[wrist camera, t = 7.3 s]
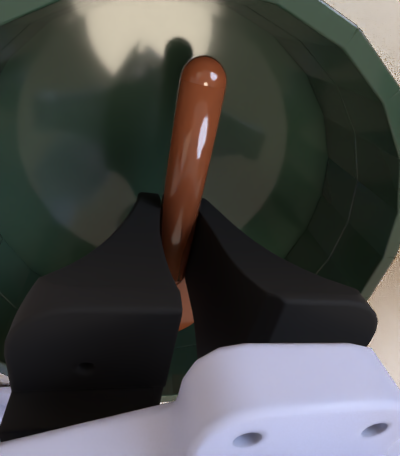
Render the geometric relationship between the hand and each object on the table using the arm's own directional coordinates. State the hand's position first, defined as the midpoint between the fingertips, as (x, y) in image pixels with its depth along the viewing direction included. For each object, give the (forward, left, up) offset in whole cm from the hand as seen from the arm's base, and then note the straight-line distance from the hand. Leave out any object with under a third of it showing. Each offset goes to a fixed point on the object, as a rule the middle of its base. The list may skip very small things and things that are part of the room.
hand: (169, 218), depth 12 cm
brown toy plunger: (0, 0, -2) cm, 2 cm away
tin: (0, 0, -2) cm, 2 cm away
